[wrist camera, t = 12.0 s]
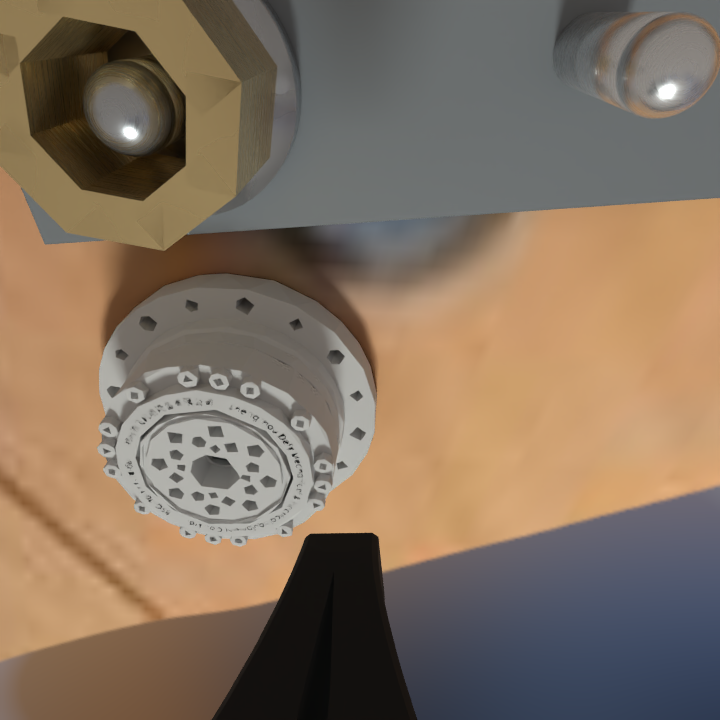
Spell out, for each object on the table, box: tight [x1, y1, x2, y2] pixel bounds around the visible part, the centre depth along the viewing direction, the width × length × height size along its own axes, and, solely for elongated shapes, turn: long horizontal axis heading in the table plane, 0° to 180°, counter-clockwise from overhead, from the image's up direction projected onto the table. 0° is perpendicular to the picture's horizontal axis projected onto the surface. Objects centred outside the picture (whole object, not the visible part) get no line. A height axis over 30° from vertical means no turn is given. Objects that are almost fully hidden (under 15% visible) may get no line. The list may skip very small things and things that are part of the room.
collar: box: [0, 0, 278, 251], centre depth 12 cm, size 5×5×4 cm
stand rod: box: [553, 12, 720, 119], centre depth 11 cm, size 2×2×5 cm
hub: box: [83, 0, 302, 215], centre depth 12 cm, size 6×6×4 cm
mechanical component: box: [97, 273, 377, 547], centre depth 19 cm, size 10×4×10 cm
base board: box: [21, 0, 720, 244], centre depth 14 cm, size 20×8×1 cm, turn 95°
